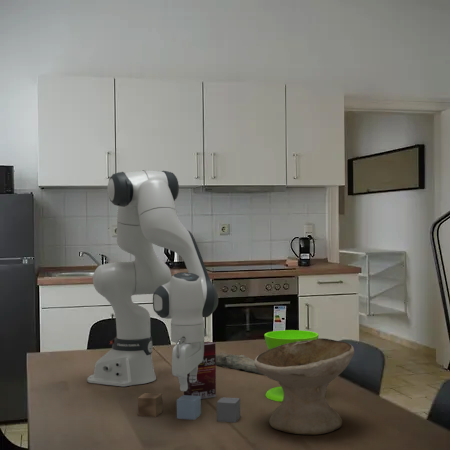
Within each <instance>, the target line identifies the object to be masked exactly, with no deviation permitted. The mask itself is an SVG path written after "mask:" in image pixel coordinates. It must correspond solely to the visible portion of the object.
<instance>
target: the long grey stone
mask: <svg viewBox="0 0 450 450" xmlns="http://www.w3.org/2000/svg"><path fill="white" fill-rule="evenodd" d="M254 361H255V359H253V358H250V357H248V356H246V355H244V354H239V355H237V354H233V353H231V354H229V353H226V352H220V353H216V366H220V367H223V368H227V369H233V370H243V371H245V372H250V373H255V374H257V375H262V376H265V375H264V374H263V373H261V372H259V371H258V370H257V368H256V367H255V364H254Z"/></svg>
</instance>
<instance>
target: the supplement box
mask: <svg viewBox="0 0 450 450" xmlns="http://www.w3.org/2000/svg"><path fill="white" fill-rule="evenodd" d="M216 350H217V349H216V343H214V342H212V341H204V356H203V361H202V362H201V363H200V364H199V365H198V371H197V381H196V382H195V383H190V382H189V376H190V373H189V374H187V383H188V390H187V391H183V395H191V396H201V400H203V399H210V398H216V397H217V385H216V384H217V379H216V377H217V374H216V372H217V371H216V369H217V367H216V366H217V365H216V354H217V353H216Z"/></svg>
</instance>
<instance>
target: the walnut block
mask: <svg viewBox="0 0 450 450" xmlns="http://www.w3.org/2000/svg"><path fill="white" fill-rule="evenodd" d="M163 408H164V407H163V393H155V392H154V393H153V392H151V393H150V392H144V393H143V394H141V395H139V396H138V397H137V411H138V415H137V416H138V417H139V416H140V417H147V418H149V417H150V418H151V417H152V418H156V417H158V416H159V415H160V414H162V413H163Z"/></svg>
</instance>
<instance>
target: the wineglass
mask: <svg viewBox="0 0 450 450" xmlns="http://www.w3.org/2000/svg"><path fill="white" fill-rule="evenodd" d="M263 336H264V341H265V343H266V346H267V350H269V349H272V348H275V347H277V346H280V345H283V344H287V343H292V342H298V341H305V340H309V341H310V340H316V339H318V338H319V333H318V332H316V331H309V330H298V329H296V330H295V329H285V330H283V329H282V330H274V331H273V330H272V331H268V332H266V333H264V335H263ZM265 398H267V399H268V400H271V401H273V402H280V403H282V401H283V398H284V392H283V389H282V387H281V385H280V386H275V387H273V388H269V389H268V390H267V391H266V393H265Z"/></svg>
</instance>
